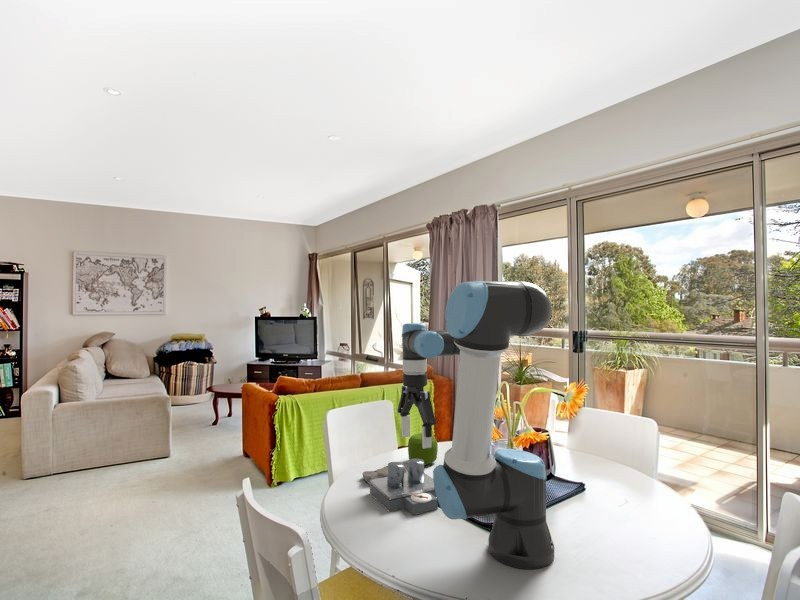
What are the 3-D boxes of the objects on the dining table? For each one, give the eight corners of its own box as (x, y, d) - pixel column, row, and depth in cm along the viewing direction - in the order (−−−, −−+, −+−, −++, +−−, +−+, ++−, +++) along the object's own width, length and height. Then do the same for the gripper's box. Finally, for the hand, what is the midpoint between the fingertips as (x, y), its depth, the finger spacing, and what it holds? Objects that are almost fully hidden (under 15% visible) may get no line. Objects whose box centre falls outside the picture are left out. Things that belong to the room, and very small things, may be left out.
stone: (373, 490, 145) (373, 477, 145) (358, 480, 153) (358, 468, 153) (411, 479, 154) (411, 467, 154) (395, 471, 162) (395, 459, 162)
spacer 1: (406, 484, 138) (407, 464, 138) (395, 489, 135) (396, 468, 135) (395, 480, 142) (395, 460, 142) (383, 484, 138) (384, 464, 138)
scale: (453, 506, 133) (453, 493, 133) (397, 519, 124) (397, 506, 124) (420, 482, 150) (420, 471, 150) (369, 493, 142) (369, 481, 142)
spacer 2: (427, 482, 140) (426, 462, 140) (412, 485, 138) (412, 465, 138) (419, 476, 145) (419, 457, 145) (405, 479, 142) (405, 460, 142)
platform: (443, 487, 137) (443, 485, 137) (389, 500, 129) (389, 497, 129) (420, 472, 150) (420, 470, 150) (369, 482, 142) (369, 480, 142)
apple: (435, 469, 162) (434, 438, 162) (405, 466, 165) (405, 436, 165) (439, 458, 173) (439, 429, 173) (411, 456, 175) (411, 428, 175)
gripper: (446, 376, 132) (448, 450, 131) (407, 368, 154) (408, 431, 154) (424, 379, 129) (425, 454, 128) (386, 369, 151) (387, 434, 150)
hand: (416, 442), depth 141 cm, fingers open, 13 cm apart
